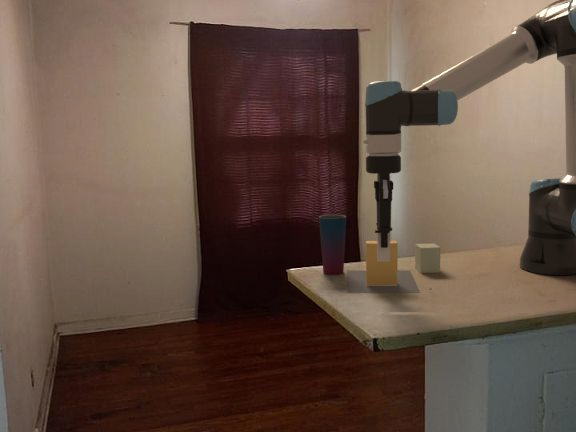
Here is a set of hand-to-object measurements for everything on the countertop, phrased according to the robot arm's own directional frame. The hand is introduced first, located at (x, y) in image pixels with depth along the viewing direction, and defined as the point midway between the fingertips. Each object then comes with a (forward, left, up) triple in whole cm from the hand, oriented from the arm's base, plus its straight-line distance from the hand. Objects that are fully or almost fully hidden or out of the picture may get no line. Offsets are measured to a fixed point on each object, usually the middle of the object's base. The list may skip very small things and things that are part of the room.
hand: (383, 260), depth 131 cm
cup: (+12, -17, -8) cm, 22 cm away
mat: (0, -9, -8) cm, 11 cm away
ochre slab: (0, -6, -7) cm, 9 cm away
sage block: (-12, -19, -8) cm, 24 cm away
